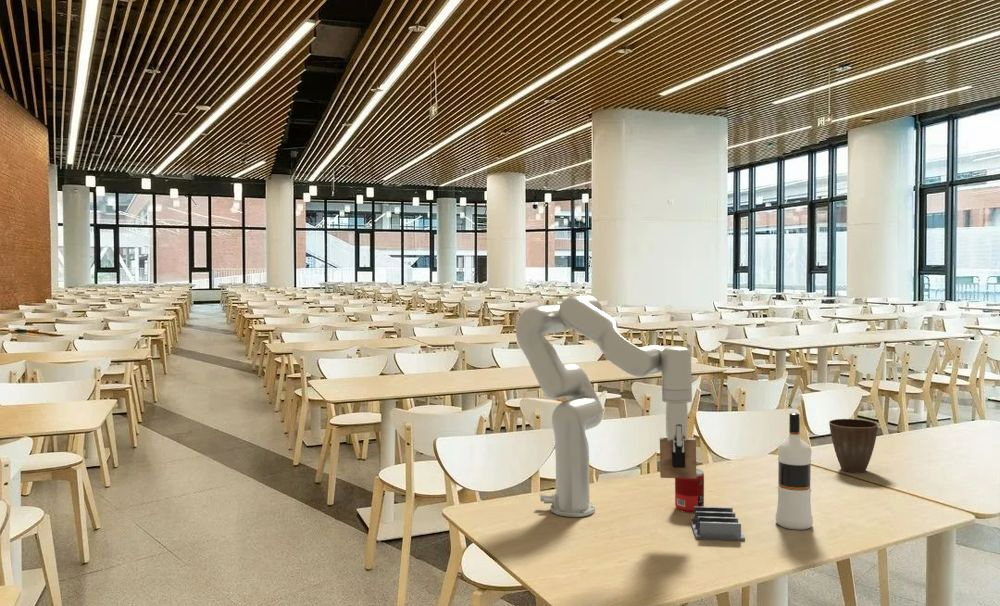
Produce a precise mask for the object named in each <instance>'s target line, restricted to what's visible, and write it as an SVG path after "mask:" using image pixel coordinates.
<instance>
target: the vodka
mask: <svg viewBox="0 0 1000 606" xmlns="http://www.w3.org/2000/svg"><path fill="white" fill-rule="evenodd" d="M788 415H789V420H788V421H789V422H788V424H789V426H788V428H789V433H788V434H789V435H788V438H786V439H784V440H783V441H781V442H780V443H779V444H778V447H777V461H778V463H777V464H778V465H777V466H778V468H777V470H778V471H777V473H778V476H777V477H778V479H777V481H778V483H777V487H776V488H777V495H778V497H777V507H776V513H775V521H776V523H777V525H779V526H780V527H782V528H785V529H787V528H788V530H794V531H795V530H796V531H802V530H803V531H804V530H808V529H810V528H812V526H813V524H814V519H813V514H812V506H811V505H812V504H811V492H812V487H811V470H812V469H811V468H812V467H811V466H812V465H811V463H812V448H811V446H810V445H809V444H808V443H807V442H805V440H803V439H802V438H801V435H800V428H801V427H800V426H801V425H800V419H801V418H800V413H798V412H797V413H796V412H790V413H789V414H788Z"/></svg>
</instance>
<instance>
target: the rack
mask: <svg viewBox="0 0 1000 606" xmlns="http://www.w3.org/2000/svg"><path fill="white" fill-rule="evenodd" d="M689 520H690V521H689V523H690V525H691V529H692V531H693V534H694V538H695V539H696V540H703V539H711V541H730V540H731V542H732V541H733V542H734V541H735V542H737V541H738V542H746V537H745V535H744V533H743V531H742V523H741V522H739V517H736V512H734V511H733V506H732V507H727V506H704V507H702V506H694V513H693V518H690V519H689Z"/></svg>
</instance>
